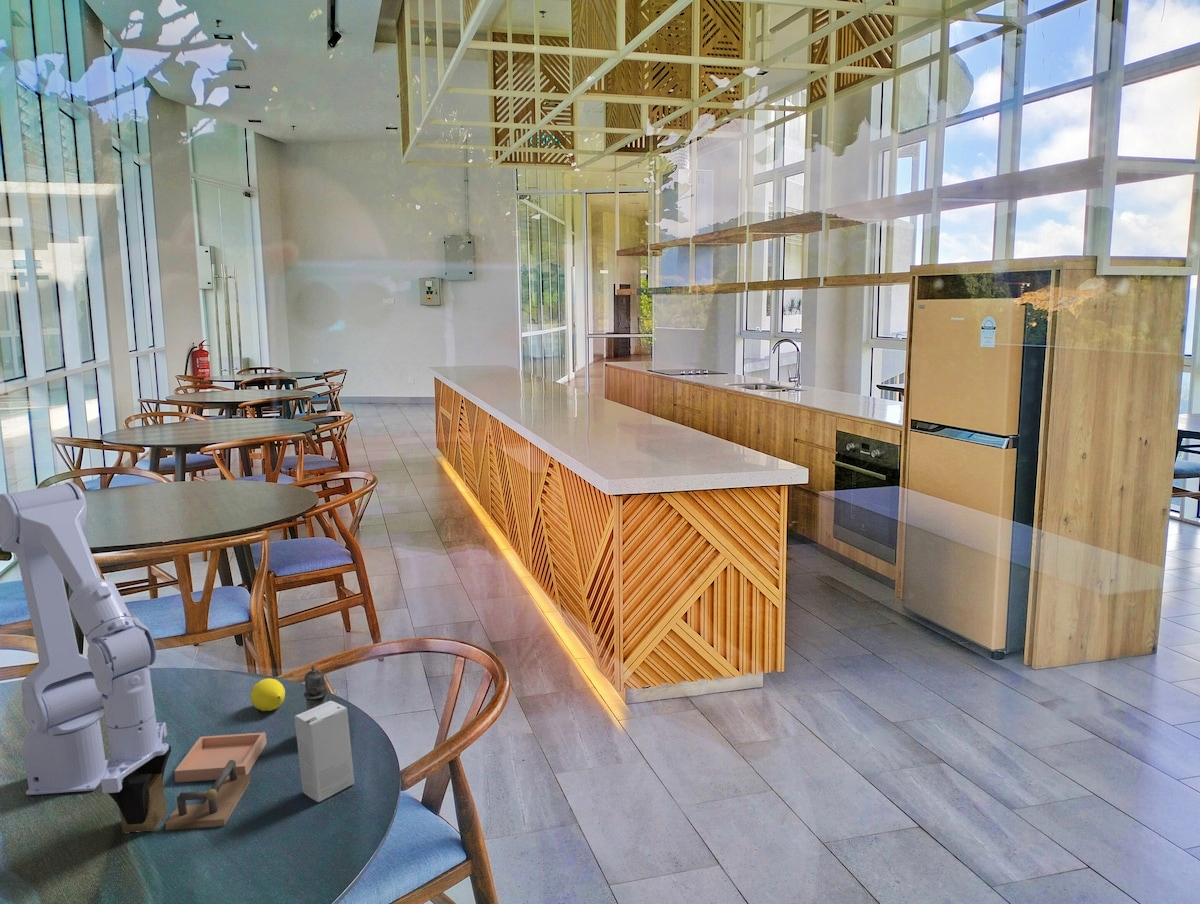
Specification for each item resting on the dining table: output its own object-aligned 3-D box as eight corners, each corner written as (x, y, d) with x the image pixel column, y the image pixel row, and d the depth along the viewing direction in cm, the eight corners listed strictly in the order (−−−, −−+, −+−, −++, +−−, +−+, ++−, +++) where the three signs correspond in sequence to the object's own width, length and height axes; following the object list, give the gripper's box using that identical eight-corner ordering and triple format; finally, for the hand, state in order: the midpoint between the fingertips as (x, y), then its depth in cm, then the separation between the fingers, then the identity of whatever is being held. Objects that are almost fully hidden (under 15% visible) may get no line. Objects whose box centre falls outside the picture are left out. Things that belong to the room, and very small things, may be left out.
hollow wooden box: (123, 833, 114) (117, 791, 113) (136, 815, 118) (131, 775, 117) (154, 831, 114) (148, 789, 113) (167, 813, 118) (161, 773, 117)
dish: (175, 782, 126) (174, 771, 125) (201, 747, 136) (200, 736, 135) (246, 777, 127) (244, 766, 126) (266, 742, 136) (265, 732, 136)
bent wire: (166, 830, 114) (162, 801, 114) (197, 784, 125) (194, 757, 124) (224, 825, 115) (220, 797, 114) (250, 780, 126) (247, 753, 125)
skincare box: (338, 775, 126) (331, 697, 124) (356, 785, 123) (349, 706, 121) (300, 794, 122) (292, 714, 120) (318, 805, 119) (309, 723, 117)
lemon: (246, 712, 148) (240, 682, 148) (275, 701, 152) (270, 671, 152) (266, 719, 143) (260, 688, 143) (296, 707, 147) (290, 676, 147)
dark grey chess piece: (327, 747, 134) (320, 674, 132) (293, 744, 136) (285, 672, 134) (345, 728, 140) (339, 658, 138) (312, 726, 141) (305, 657, 139)
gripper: (137, 743, 106) (151, 843, 109) (184, 691, 121) (195, 780, 123) (78, 747, 106) (93, 847, 108) (131, 694, 120) (144, 784, 123)
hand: (144, 812), depth 116 cm, fingers closed on hollow wooden box, 4 cm apart
